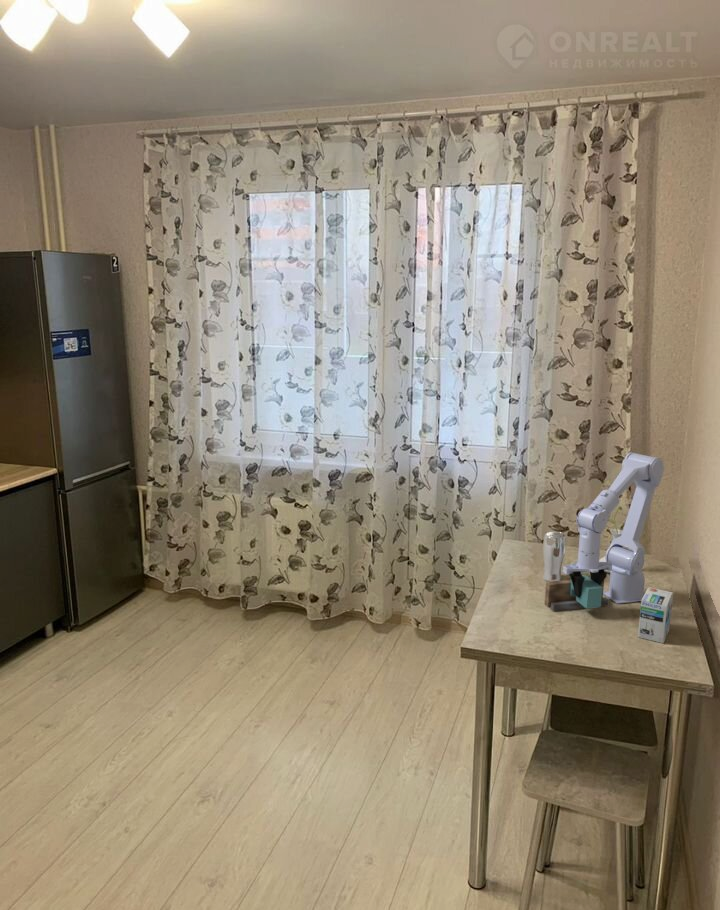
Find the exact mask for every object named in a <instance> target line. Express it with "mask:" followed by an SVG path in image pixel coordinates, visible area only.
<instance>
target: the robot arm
mask: <svg viewBox="0 0 720 910" xmlns="http://www.w3.org/2000/svg"><path fill="white" fill-rule="evenodd" d="M664 471H665V466H664V463H663V459H662V458H661V457H654V456H650V455H645V454H640V453H636V452H633V451H631V452H628V453H627V455H625V457H624V458H623V460H622V462H621V470H620V472H619V474H618V475H617V477H616V478H615V479H614V480H613V482H612V484H611V485H610V487H609V488H608V489H603V490H602V491H600V493H599V494H598V495H597V496H596V498H595V499H594V500H593V501H592V503H590V504H589V506H588V507H585V508H583V509H581V510H580V511H579V512H578V514H577V518H575V522H576V525H577V529H578V530H577V532H578V533H579V539H578V540H579V541H578V555H577V562H574V563H571V564H567V565H562V573H563V574H565V575H566V576H569V577H570V580H571V581H572V584H573V587H574V593H575V595H576V596H577V597H581V592H582V585H583V582H584V579H585V577H583V576H582V575H583V573H587V572H589V576H590V577H589V578H591V579H592V580H593V581H594V582H596V583H597V584H598V585H601V583H602V582H603V580H604V581H605V579H606V578H607V576H608V574H607V573H608V572H605V571H604V570H608V571H611V572H610V573H609V584H608V585H609V586H608V590H606V591H604V590H603V596H605V597H606V598H608V599H610V600H611V601H613V602H614V603H615V604H627V603H635V602H636V603H637V602H641V600H642V598H643V596H644V592H645V591H644V590H645V574H644V572H643V571H642V569H643V567H644V564H645V557H646V556H645V555H646V549H645V547H644V546H643V545H642V543H641V542H640V541H641V538H642V537H641V536H642V534H643V530H644V528H645V524H646V521H647V518H648V515H649V512H650V509H651V505H652V502H653V499H654V495H655V492H656V489H657V487H659V486H660V484H661V481H662V478H663V475H664ZM633 483H634V484H635V486H636V488H635V490H634V494H633V497H632V500H631V504H630V505H629V506H630V507H629V508H630V509H629V512H628V516H626V519H625V521H624V525H623V529H622V530H623V532H622V535H621V536H620V537H618V538H616V539H612V541H611V543H610V544H609V546H608V548H607V549H606V552H605V555H604V556H605V557H606V562H599V560H600V553H601V543H602V533H603V531H604V530H605V529H606V528H607V525H608V521H609V518H610V515H611V514H612V512H613V511H614V510H616V506H617V505H618V504H619V498H620V496H622V494H624V492H625V491H626V490H628V489H629V487H630V486H631V485H632V484H633ZM625 547H626V548H625Z"/></svg>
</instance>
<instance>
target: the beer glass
mask: <svg viewBox="0 0 720 910" xmlns="http://www.w3.org/2000/svg"><path fill="white" fill-rule="evenodd" d="M566 536H567V535H566V534H565V533H563V532H561V531H555V530H554V531H553V530H552V531H546V532H545V533H544V537H543V543H542V555H543V564H544V566H543V567H544V569H543V573H542V577H541V578H542V580H544V581H546V582H554V581H563V578H562V568H563V562H564V558H565V554H566V549H567V547H566V546H567V543H566V542H567V541H566V538H567V537H566Z"/></svg>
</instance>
